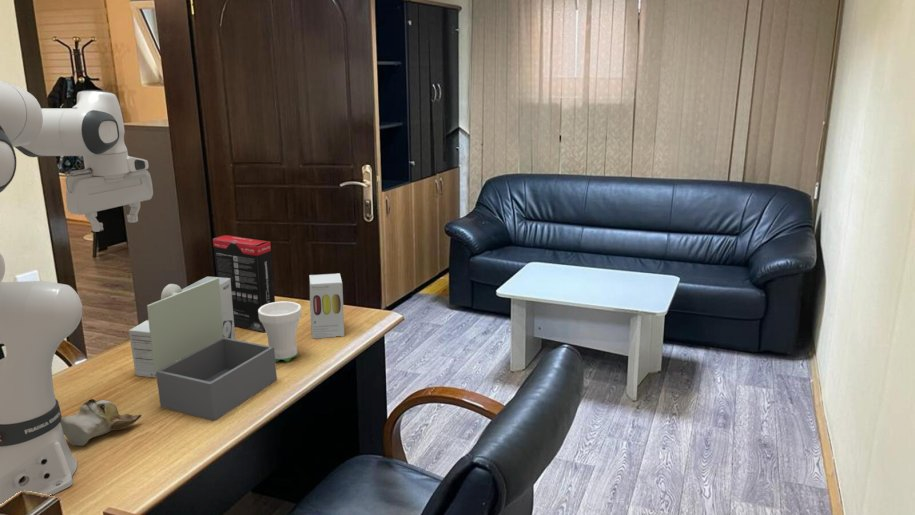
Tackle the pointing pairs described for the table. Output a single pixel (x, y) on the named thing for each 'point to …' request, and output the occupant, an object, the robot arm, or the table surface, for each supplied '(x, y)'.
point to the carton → (216, 378)
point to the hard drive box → (223, 304)
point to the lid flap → (184, 321)
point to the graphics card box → (246, 276)
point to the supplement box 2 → (326, 305)
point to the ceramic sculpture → (94, 421)
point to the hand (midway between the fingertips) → (116, 226)
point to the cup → (281, 327)
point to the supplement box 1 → (142, 350)
